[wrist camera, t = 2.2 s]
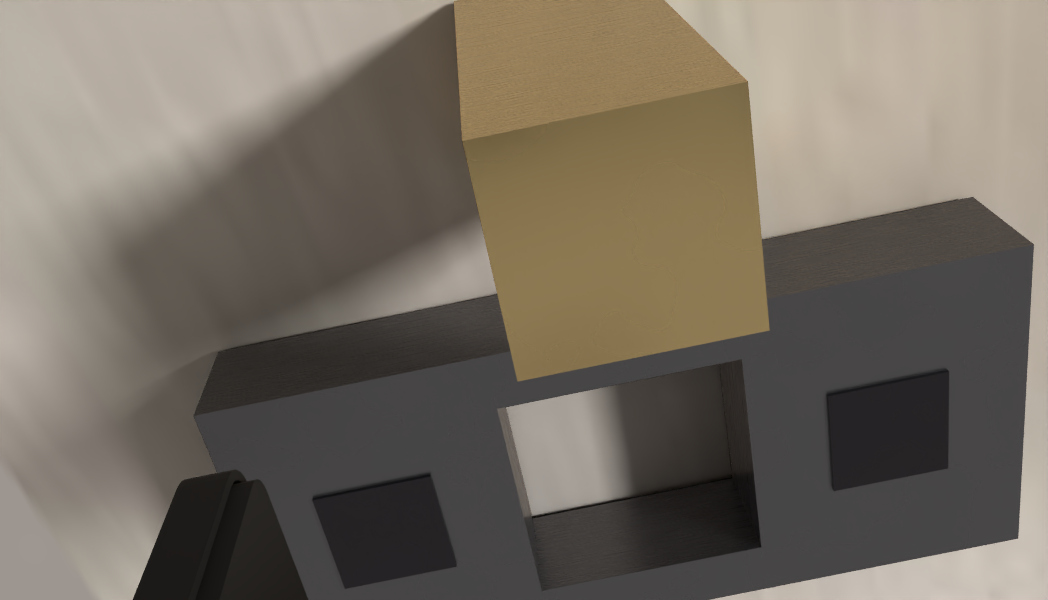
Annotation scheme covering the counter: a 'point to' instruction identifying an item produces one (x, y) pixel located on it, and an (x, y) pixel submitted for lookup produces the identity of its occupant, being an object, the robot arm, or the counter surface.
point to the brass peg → (609, 180)
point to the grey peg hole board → (745, 368)
